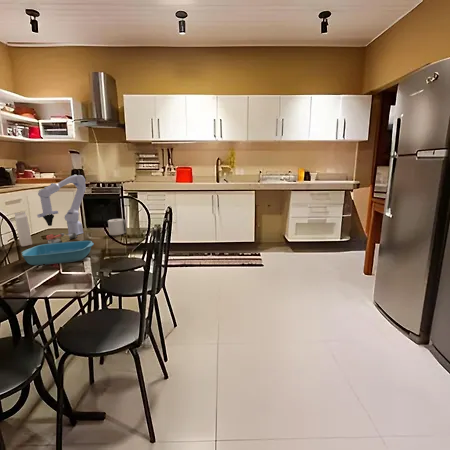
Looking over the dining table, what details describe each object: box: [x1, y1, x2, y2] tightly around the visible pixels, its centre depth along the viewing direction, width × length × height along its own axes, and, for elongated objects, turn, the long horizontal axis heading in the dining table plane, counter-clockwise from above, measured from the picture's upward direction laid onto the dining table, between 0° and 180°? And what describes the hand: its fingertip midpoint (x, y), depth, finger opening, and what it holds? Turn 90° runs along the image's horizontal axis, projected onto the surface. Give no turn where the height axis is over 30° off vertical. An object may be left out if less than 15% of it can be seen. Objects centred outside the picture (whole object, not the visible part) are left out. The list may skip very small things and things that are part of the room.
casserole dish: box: [21, 240, 94, 266], centre depth 175 cm, size 37×22×7 cm, turn 98°
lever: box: [46, 232, 65, 241], centre depth 208 cm, size 12×3×3 cm, turn 157°
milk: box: [14, 211, 33, 247], centre depth 207 cm, size 6×6×22 cm
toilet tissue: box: [107, 218, 128, 236], centre depth 226 cm, size 11×12×10 cm
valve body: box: [47, 232, 78, 244], centre depth 213 cm, size 20×6×4 cm, turn 156°
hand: (50, 225), depth 218 cm, fingers closed
